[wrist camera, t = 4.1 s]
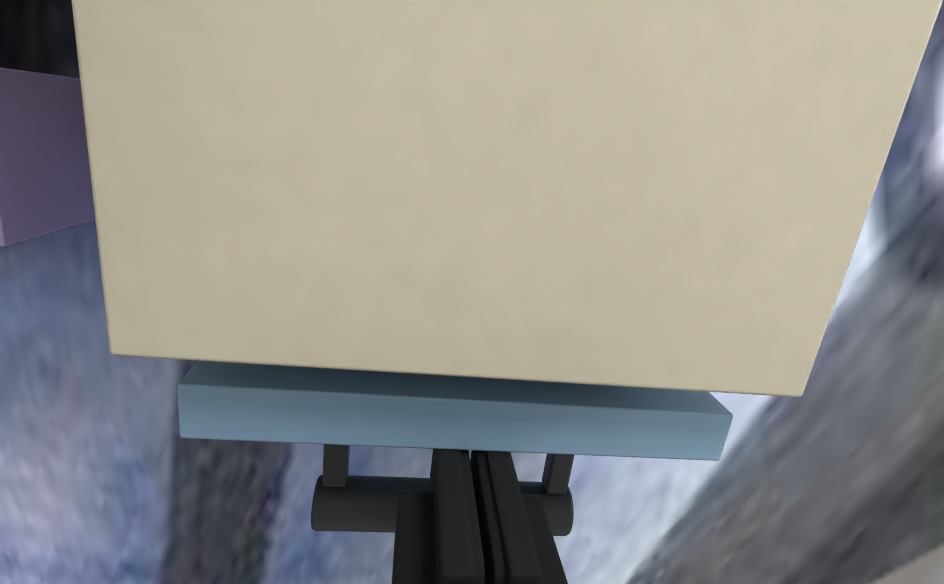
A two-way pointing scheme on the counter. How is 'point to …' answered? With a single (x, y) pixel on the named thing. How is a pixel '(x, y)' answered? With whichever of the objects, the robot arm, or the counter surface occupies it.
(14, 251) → the counter surface
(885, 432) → the counter surface
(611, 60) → the drawer cabinet
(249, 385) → the blue drawer
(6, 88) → the lavender cube
